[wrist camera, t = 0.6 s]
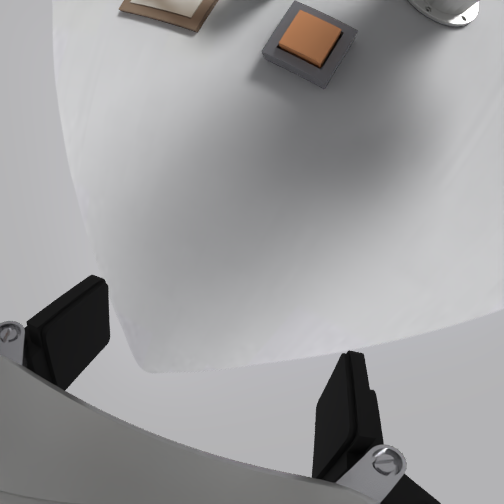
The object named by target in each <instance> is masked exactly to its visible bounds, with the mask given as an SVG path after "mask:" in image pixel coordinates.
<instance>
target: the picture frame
mask: <svg viewBox="0 0 504 504" xmlns="http://www.w3.org/2000/svg"><path fill="white" fill-rule="evenodd" d="M217 2H218V0H124V1H123V3H122V4H121V6H120V8H119V10H121V11H123V12H128V13H132V14H136V15H140V16H144V17H148V18H152V19H156V20H159V21H163V22H166V23H170V24H173V25H176V26H180V27H183V28H186V29H189V30H192V31H195V32H198V31H199V30H200V28H201V26H202V25H203V23H204V22H205V20H206V19H207V17H208V15H209V14H210V12H211V11H212V9H213V8H214V6H215V5H216V3H217Z"/></svg>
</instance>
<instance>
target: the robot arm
mask: <svg viewBox="0 0 504 504" xmlns="http://www.w3.org/2000/svg"><path fill="white" fill-rule="evenodd" d="M408 1H409V2H410V3H411V4H412V5H413V6H414V7H415V8H416V9H417V10H418V11H420V12H421V13H423V14H424V15H425V16H427V17H429V18H430V19H432V20H434V21H436V22H439V23H441V24H444V25H448V26H456V27H457V26H464V25H466V24H469V23H470V22H472V21H473V20H474V19H475V18H476V16H477V14H478V11H479V2H478V1H480V0H408ZM109 339H110V326H109V300H108V285H107V284H106V282H105V280H104V279H103V278H100V277H97V276H95V275H91V276H89V277H87V278H86V279H85V280H83V281H82V282H80V283H79V284H77V285H76V286H74V287H73V288H72V289H70V290H69V291H68V292H66V293H65V294H63V295H62V296H61V297H59V298H58V299H56V300H55V301H54V302H52V303H51V304H50V305H48V306H47V307H46V308H44V309H43V310H42V311H40V312H39V313H37V314H36V315H35V316H33V317H32V318H31V319H30V320H28V321H27V327H25V328H24V327H23V326H22V325H21V324H20V323H18V322H15V321H6V322H3V323H0V504H441V503H440V502H438V501H437V500H436V499H434V497H432V496H431V495H430V494H428V493H427V492H426V491H425V490H424V489H422V488H421V487H420V486H419V485H417V484H416V483H415V482H414V481H413V480H411V479H410V478H409V477H408V476H407V475H405V474H404V473H405V471H406V466H407V463H406V459H405V457H404V455H403V454H402V453H401V452H400V451H399V450H398V449H396V448H394V447H393V446H390V445H384V444H383V436H382V430H381V422H380V416H379V410H378V403H377V397H376V393H375V391H374V390H370V388H369V382H368V375H367V370H366V364H365V358H364V354H362V353H359V352H354V351H348V352H347V353H346V354H345V353H343V354H342V355H341V356H340V358H339V361H338V363H337V365H336V367H335V369H334V371H333V373H332V375H331V377H330V379H329V381H328V383H327V385H326V387H325V389H324V391H323V393H322V395H321V397H320V399H319V401H318V403H317V407H316V422H315V441H314V456H313V469H312V478H310V477H306V476H301V475H296V474H291V473H286V472H281V471H276V470H271V469H267V468H263V467H258V466H255V465H251V464H247V463H243V462H239V461H235V460H231V459H228V458H224V457H221V456H217V455H214V454H211V453H208V452H204V451H201V450H198V449H195V448H192V447H189V446H186V445H183V444H181V443H177V442H175V441H172V440H170V439H167V438H164V437H162V436H159V435H156V434H154V433H151V432H149V431H146V430H144V429H142V428H139V427H137V426H134V425H132V424H130V423H128V422H126V421H123V420H121V419H119V418H117V417H115V416H113V415H110V414H108V413H106V412H104V411H102V410H100V409H98V408H96V407H94V406H92V405H90V404H88V403H86V402H84V401H83V400H81V399H78V398H77V397H75V396H73V395H71V394H69V393H68V392H66V391H65V390H66V389H67V388H68V387H69V386H70V384H71V383H72V382H73V381H74V380H75V379H76V378H77V377H78V375H79V374H80V373H81V372H82V371H83V370H84V369H85V368H86V367H87V366H88V365H89V363H90V362H91V361H92V360H93V359H94V358H95V357H96V356H97V355H98V354H99V352H100V351H101V350H102V349H103V348H104V347H105V346H106V345H107V344H108V342H109Z"/></svg>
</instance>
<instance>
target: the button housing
mask: <svg viewBox="0 0 504 504" xmlns="http://www.w3.org/2000/svg"><path fill="white" fill-rule="evenodd" d="M299 10H302V11H304V12H307V13H309V14H311V15H313V16H315V17H318V18H320V19H322V20H324V21H326V22H328V23H330V24H332V25H334V26H336V27H338V28H340V29H341V33H340V37H339V39H338V40H337V42H336V44H335V45H334V47H333V48H332V50H331V52H330V53H329V55H328V57H327V58H326V60H325V62H324V63H323V65H322V67H321V68H320V69H319V68H317V67H315V66H313V65H311V64H309V63H307V62H306V61H304V60H302V59H300V58H297V57H295V56H293V55H291V54H289V53H287V52H285V51H283V50H281V49H280V45H279V41H280V40H281V38H282V37H283V35H284V34H285V32H286V30H287V29H288V27H289V26H290V24H291V23H292V21H293V20H294V18H295V16H296V15H297V13H298V12H299ZM357 32H358V30H356V29H354V28H352V27H350V26H348V25H346V24H344V23H342V22H341V21H339V20H337V19H335V18H333V17H330V16H328V15H326V14H324V13H322V12H320V11H318V10H316V9H313V8H311V7H309V6H307V5H304V4H302V3H299V2H297V1H294V2H293V4H292V5H291V7H290V8H289V9H288V11H287V12H286V14H285V15H284V17H283V19H282V20H281V22H280V23H279V25H278V26H277V28H276V29H275V31H274V32H273V34H272V36H271V37H270V39H269V40H268V42H267V44H266V45H265V47H264V48H263V50H262V53H263V55H264V57H265V59H266V60H268V61H270V62H272V63H274V64H277V65H279V66H281V67H283V68H285V69H287V70H289V71H291V72H293V73H295V74H297V75H299V76H301V77H303V78H305V79H307V80H309V81H310V82H312V83H314V84H316V85H318V86H320V87H321V88H323V89H325V87H326V86H327V84H328V82H329V81H330V79H331V77H332V76H333V74H334V72H335V71H336V69H337V67H338V66H339V64H340V62H341V61H342V59H343V57H344V56H345V54H346V52H347V51H348V49H349V47H350V46H351V44H352V42H353V41H354V39H355V36H356V34H357Z"/></svg>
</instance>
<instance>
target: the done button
mask: <svg viewBox="0 0 504 504" xmlns="http://www.w3.org/2000/svg"><path fill="white" fill-rule="evenodd" d="M340 33H341V29H340V28H338V27H336V26H334V25H332V24H330V23H328V22H326V21H324V20H322V19H320V18H318V17H315V16H313V15H311V14H309V13H307V12H304V11H302V10H299V12H298V13H297V15H296V16H295V18H294V20H293V21H292V23H291V24H290V26H289V27H288V29H287V30H286V32H285V34H284V35H283V37H282V38H281V40H280V41H279V45H280V49H281V50H283V51H285V52H287V53H289V54H291V55H293V56H295V57H297V58H300V59H302V60H304V61H306V62H307V63H309V64H311V65H313V66H315V67H317V68H319V69H320V68H321V67H322V65H323V63H324V62H325V60H326V58H327V57H328V55H329V53H330V52H331V50H332V48H333V47H334V45H335V44H336V42H337V40H338V39H339V37H340Z"/></svg>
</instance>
